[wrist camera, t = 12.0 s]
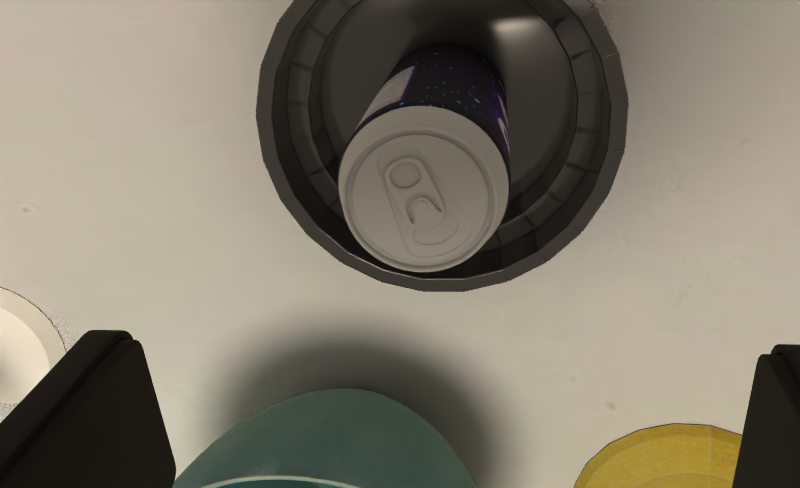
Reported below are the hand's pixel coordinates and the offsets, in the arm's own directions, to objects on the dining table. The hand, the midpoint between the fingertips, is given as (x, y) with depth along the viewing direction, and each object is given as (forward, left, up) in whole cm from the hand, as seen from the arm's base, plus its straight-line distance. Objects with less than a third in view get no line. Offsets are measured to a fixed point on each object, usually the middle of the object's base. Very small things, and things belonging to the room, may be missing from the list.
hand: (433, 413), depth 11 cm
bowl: (+1, -2, -24) cm, 24 cm away
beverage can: (+1, -1, -24) cm, 24 cm away
